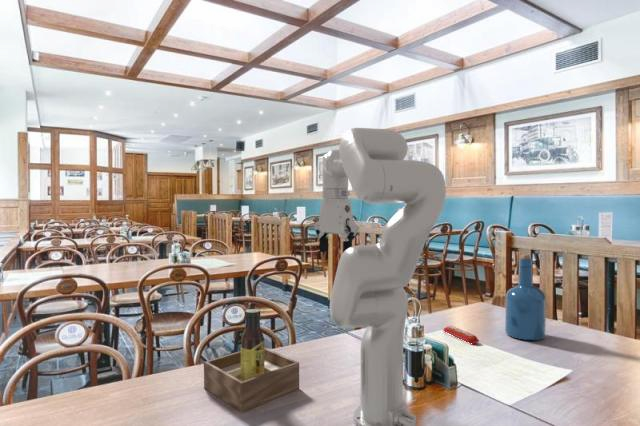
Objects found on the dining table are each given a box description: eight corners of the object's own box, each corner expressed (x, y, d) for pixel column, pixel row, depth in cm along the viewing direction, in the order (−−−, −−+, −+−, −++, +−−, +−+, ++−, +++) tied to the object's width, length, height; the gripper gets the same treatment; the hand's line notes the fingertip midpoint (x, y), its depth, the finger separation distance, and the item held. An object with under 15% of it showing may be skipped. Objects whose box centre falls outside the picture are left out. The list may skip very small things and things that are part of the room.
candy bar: (441, 332, 157) (441, 324, 157) (449, 331, 159) (449, 323, 158) (472, 346, 142) (472, 338, 142) (480, 345, 144) (480, 336, 144)
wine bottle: (496, 333, 156) (497, 253, 155) (521, 328, 161) (522, 251, 160) (529, 344, 143) (530, 258, 142) (554, 339, 149) (556, 255, 148)
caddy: (299, 388, 111) (299, 362, 110) (241, 412, 98) (241, 383, 98) (259, 368, 123) (259, 345, 123) (204, 387, 111) (203, 362, 111)
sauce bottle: (260, 391, 107) (259, 314, 106) (237, 389, 108) (236, 313, 107) (268, 380, 113) (267, 308, 112) (246, 378, 114) (245, 307, 114)
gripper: (366, 195, 119) (366, 254, 120) (323, 195, 132) (323, 249, 132) (348, 195, 114) (348, 257, 114) (306, 195, 126) (306, 251, 127)
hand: (335, 253), depth 123 cm, fingers open, 9 cm apart
